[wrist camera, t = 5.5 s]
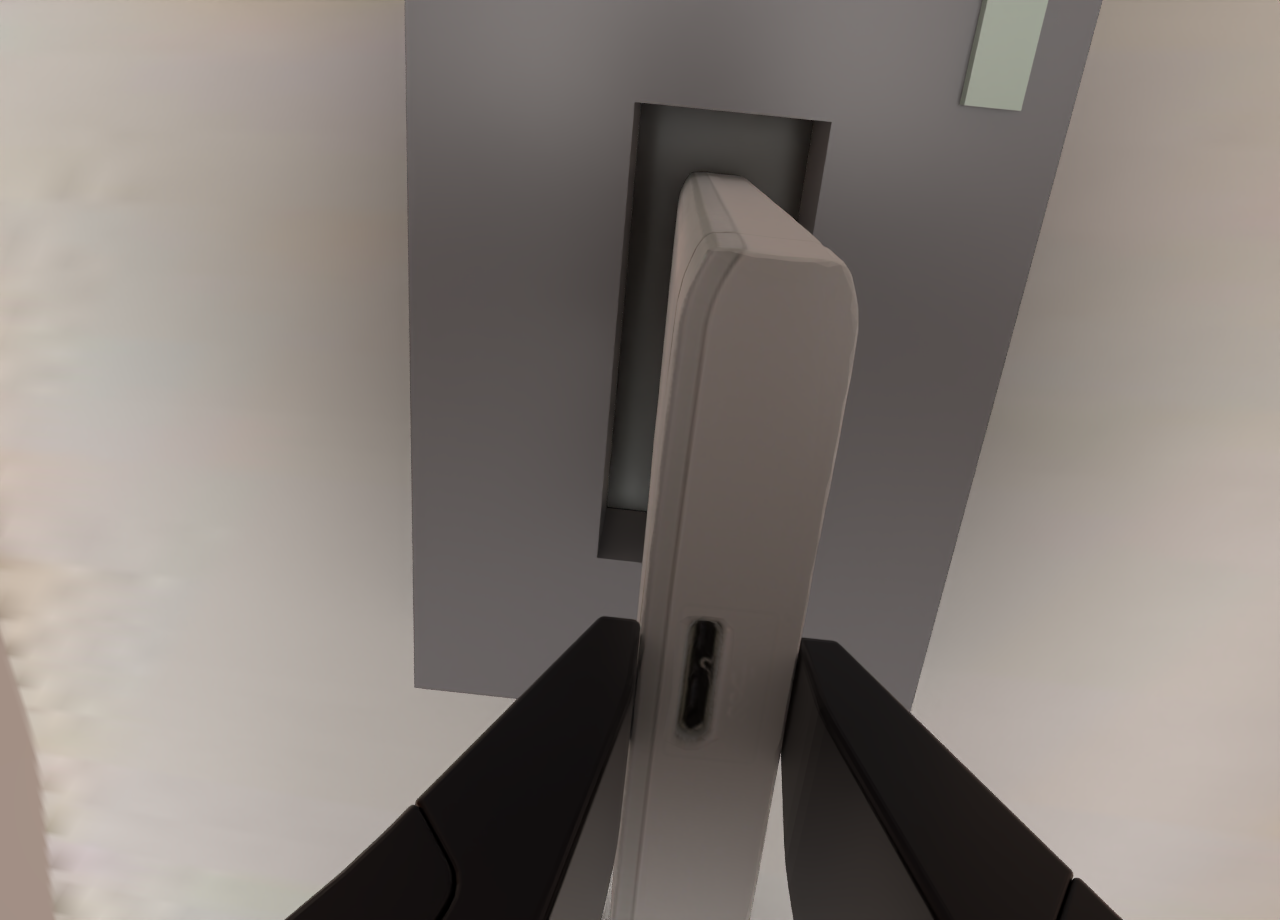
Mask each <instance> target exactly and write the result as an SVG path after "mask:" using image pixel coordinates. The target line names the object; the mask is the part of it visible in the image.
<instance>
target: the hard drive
mask: <svg viewBox="0 0 1280 920" xmlns="http://www.w3.org/2000/svg"><path fill="white" fill-rule="evenodd" d="M857 336H858V303H857V297H856V292H855V287H854V282H853V278H852V274H851V272H850V271H849V269H848V268H847V266H846V264H845V263H844V261H842V260H841V259H840V258H839V257H838V256H837V255H835V254H834V253H833V252H832V251H831V250H830V249H829V248H827V247H824V246H823V245H822V244H821V242H820V241H819V240H817V239H816V238H815V237H814V236H813V235H812V234H811V233H810V232H809V231H807V230H806V229H805V228H804V227H803V226H801V225H800V224H799V223H798V222H797V221H796V220H794V219H793V218H792V217H791V216H790V215H789V214H788V213H786V212H785V211H784V210H783V209H782V208H780V207H779V206H778V205H777V204H775V203H774V202H773V201H772V200H771V199H770V198H768V196H766V195H765V194H764V193H762V192H761V191H760V190H759V189H758V188H756V187H755V186H754V185H753V184H752V183H751V182H750V181H748V180H747V179H746V178H744V177H741V176H736V175H726V174H716V173H710V172H694V173H691V174H690V175H689V176H688V177H687V179H686V181H685V183H684V185H683V187H682V189H681V192H680V196H679V200H678V208H677V217H676V226H675V235H674V245H673V254H672V264H671V274H670V284H669V293H668V303H667V314H666V324H665V334H664V344H663V355H662V365H661V375H660V383H659V394H658V405H657V414H656V425H655V434H654V444H653V456H652V466H651V477H650V488H649V498H648V509H647V520H646V531H645V541H644V551H643V561H642V572H641V582H640V593H639V604H638V614H637V621H638V622H639V624H640V638H639V650H638V661H637V673H636V684H635V693H634V702H633V711H632V720H631V730H630V739H629V748H628V757H627V766H626V775H625V784H624V793H623V803H622V812H621V821H620V829H619V836H618V844H617V849H616V855H615V860H614V869H613V883H612V898H611V910H610V920H750V916H751V910H752V905H753V900H754V895H755V889H756V884H757V879H758V873H759V868H760V862H761V857H762V852H763V846H764V841H765V835H766V829H767V823H768V817H769V812H770V807H771V801H772V796H773V790H774V785H775V779H776V774H777V769H778V764H779V759H780V753H781V748H782V742H783V735H784V729H785V723H786V718H787V712H788V707H789V702H790V696H791V691H792V685H793V680H794V675H795V669H796V664H797V658H798V653H799V648H800V642H801V637H802V632H803V626H804V621H805V616H806V611H807V605H808V599H809V593H810V587H811V581H812V575H813V569H814V564H815V558H816V552H817V548H818V544H819V540H820V536H821V530H822V525H823V519H824V514H825V508H826V503H827V499H828V495H829V491H830V486H831V480H832V475H833V469H834V464H835V459H836V454H837V449H838V444H839V438H840V433H841V427H842V421H843V416H844V410H845V405H846V399H847V394H848V390H849V385H850V380H851V374H852V368H853V362H854V355H855V349H856V342H857Z"/></svg>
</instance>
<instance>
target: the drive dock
mask: <svg viewBox="0 0 1280 920" xmlns="http://www.w3.org/2000/svg"><path fill="white" fill-rule="evenodd" d="M1101 4H1102V0H405V55H406V124H407V194H408V264H409V334H410V404H411V474H412V544H413V614H414V684H415V688H422V689H431V690H441V691H450V692H459V693H468V694H477V695H487V696H496V697H505V698H514V699H518V698H519V697H520V696H521V695H522V694H523V693H524V692H525V691H526V690H527V689H528V688H529V687H530V686H531V685H532V684H533V683H534V682H535V681H536V680H537V679H538V678H539V677H540V676H541V675H542V674H543V673H544V672H545V671H546V670H547V669H548V668H549V667H550V666H551V665H552V664H553V663H554V662H555V661H556V660H557V659H558V658H559V657H560V656H561V655H562V654H563V653H564V652H565V651H566V650H567V649H568V648H569V647H570V646H571V645H572V644H573V643H574V642H575V641H576V640H577V639H578V638H579V637H580V636H581V635H582V634H583V633H584V632H585V631H586V630H587V629H588V628H589V627H590V626H591V625H592V624H593V623H594V622H595V621H596V620H597V619H598V618H600V617H602V616H609V617H618V618H627V619H634V620H637V614H638V604H639V593H640V582H641V572H642V561H643V551H644V541H645V531H646V520H647V512H641V511H632V510H622V509H613V508H607V497H608V485H609V474H610V462H611V450H612V439H613V427H614V415H615V404H616V392H617V380H618V369H619V357H620V345H621V334H622V322H623V310H624V299H625V287H626V275H627V264H628V252H629V240H630V229H631V217H632V205H633V194H634V182H635V170H636V159H637V147H638V135H639V124H640V112H641V103H649V104H659V105H669V106H679V107H689V108H699V109H709V110H719V111H728V112H738V113H748V114H758V115H768V116H778V117H788V118H798V119H808V120H814V122H813V128H812V134H811V141H810V147H809V153H808V159H807V166H806V172H805V178H804V184H803V191H802V197H801V203H800V209H799V216H798V223H799V224H800V225H801V226H803V227H804V228H805V229H806V230H807V231H809V232H810V233H811V234H812V235H813V236H814V237H815V238H816V239H817V240H819V241H820V242H821V244H822V245H823V246H824V247H827V248H829V249H830V250H831V251H832V252H833V253H834V254H835V255H837V256H838V257H839V258H840V259H841V260H842V261H844V263H845V264H846V266H847V268H848V269H849V271H850V272H851V274H852V278H853V282H854V287H855V292H856V297H857V303H858V336H857V342H856V349H855V355H854V362H853V368H852V374H851V380H850V385H849V390H848V394H847V399H846V405H845V410H844V416H843V421H842V427H841V433H840V438H839V444H838V449H837V454H836V459H835V464H834V469H833V475H832V480H831V486H830V491H829V495H828V499H827V503H826V508H825V514H824V519H823V525H822V530H821V536H820V540H819V544H818V548H817V552H816V558H815V564H814V569H813V575H812V581H811V587H810V593H809V599H808V605H807V611H806V616H805V621H804V626H803V632H802V637H805V638H814V639H824V640H833V641H836V642H838V643H839V644H840V645H842V646H843V647H844V648H845V649H846V650H847V651H848V652H849V653H850V654H851V655H852V656H853V657H854V658H855V659H856V660H857V661H858V662H859V663H860V664H861V665H862V666H863V667H864V668H865V669H866V670H867V671H868V672H869V673H870V674H871V675H872V676H873V677H874V678H875V679H876V680H877V681H878V682H879V683H880V684H881V685H882V686H883V687H885V688H886V689H887V690H888V691H889V692H890V693H891V694H892V695H893V696H894V697H895V698H896V699H897V700H898V701H899V702H900V703H901V704H902V705H903V706H904V707H905V708H906V709H907V710H908V711H909V712H910V711H911V707H912V703H913V700H914V696H915V692H916V689H917V685H918V681H919V678H920V674H921V670H922V666H923V663H924V659H925V655H926V652H927V648H928V644H929V641H930V637H931V633H932V629H933V626H934V622H935V618H936V615H937V611H938V607H939V604H940V600H941V596H942V592H943V589H944V585H945V581H946V578H947V574H948V570H949V566H950V563H951V559H952V555H953V552H954V548H955V544H956V541H957V537H958V533H959V529H960V526H961V522H962V518H963V515H964V511H965V507H966V504H967V500H968V496H969V492H970V489H971V485H972V481H973V478H974V474H975V470H976V467H977V463H978V459H979V455H980V452H981V448H982V444H983V441H984V437H985V433H986V430H987V426H988V422H989V418H990V415H991V411H992V407H993V404H994V400H995V396H996V393H997V389H998V385H999V381H1000V378H1001V374H1002V370H1003V367H1004V363H1005V359H1006V356H1007V352H1008V348H1009V344H1010V341H1011V337H1012V333H1013V330H1014V326H1015V322H1016V319H1017V315H1018V311H1019V307H1020V304H1021V300H1022V296H1023V293H1024V289H1025V285H1026V282H1027V278H1028V274H1029V270H1030V267H1031V263H1032V259H1033V256H1034V252H1035V248H1036V244H1037V241H1038V237H1039V233H1040V230H1041V226H1042V222H1043V219H1044V215H1045V211H1046V207H1047V204H1048V200H1049V196H1050V193H1051V189H1052V185H1053V182H1054V178H1055V174H1056V170H1057V167H1058V163H1059V159H1060V156H1061V152H1062V148H1063V145H1064V141H1065V137H1066V133H1067V130H1068V126H1069V122H1070V119H1071V115H1072V111H1073V108H1074V104H1075V100H1076V96H1077V93H1078V89H1079V85H1080V82H1081V78H1082V74H1083V71H1084V67H1085V63H1086V59H1087V56H1088V52H1089V48H1090V45H1091V41H1092V37H1093V34H1094V30H1095V26H1096V22H1097V19H1098V15H1099V11H1100V8H1101ZM802 637H801V638H802Z"/></svg>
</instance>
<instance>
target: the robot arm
mask: <svg viewBox="0 0 1280 920" xmlns="http://www.w3.org/2000/svg"><path fill="white" fill-rule="evenodd" d="M639 638H640V624H639V622H638V621H637V620H634V619H627V618H618V617H609V616H602V617H600V618H598V619H597V620H596V621H595V622H594V623H593V624H592V625H591V626H590V627H589V628H588V629H587V630H586V631H585V632H584V633H583V634H582V635H581V636H580V637H579V638H578V639H577V640H576V641H575V642H574V643H573V644H572V645H571V646H570V647H569V648H568V649H567V650H566V651H565V652H564V653H563V654H562V655H561V656H560V657H559V658H558V659H557V660H556V661H555V662H554V663H553V664H552V665H551V666H550V667H549V668H548V669H547V670H546V671H545V672H544V673H543V674H542V675H541V676H540V677H539V678H538V679H537V680H536V681H535V682H534V683H533V684H532V685H531V686H530V687H529V688H528V689H527V690H526V691H525V692H524V693H523V694H522V695H521V696H520V697H519V698H518V699H517V700H516V701H515V702H514V703H513V704H512V705H511V706H510V707H509V708H508V709H507V710H506V711H505V712H504V713H503V714H502V715H501V716H500V717H499V718H498V719H497V720H496V721H495V722H494V723H493V724H492V725H491V726H490V727H489V728H488V729H487V730H486V731H485V732H484V733H483V734H482V735H481V736H480V737H479V738H478V739H477V740H476V741H475V742H474V743H473V744H472V745H471V746H470V747H469V748H468V749H467V750H466V751H465V752H464V753H463V754H462V755H461V756H460V757H459V758H458V759H457V760H456V761H455V762H454V763H453V764H452V765H451V766H450V767H449V768H448V769H447V770H446V771H445V772H444V773H443V774H442V775H441V776H440V777H439V778H438V779H437V780H436V781H435V782H434V783H433V784H432V785H431V786H430V787H429V788H428V789H427V790H426V791H425V792H424V793H423V794H422V795H421V796H420V797H419V798H418V799H417V800H416V803H415V805H411V806H409V807H408V808H407V809H406V810H405V811H404V812H403V813H402V814H401V815H400V817H399V818H398V819H397V820H396V821H395V822H394V823H393V824H392V825H391V826H390V827H389V828H388V829H387V830H386V831H385V832H384V833H382V834H381V835H380V836H379V837H378V838H377V839H376V840H375V841H374V842H373V843H372V844H371V845H370V846H369V847H368V848H367V849H365V850H364V851H363V852H362V853H361V854H360V855H359V856H358V857H357V858H356V859H355V860H354V861H353V862H352V863H351V864H350V865H348V866H347V867H346V868H345V869H344V870H343V871H342V872H341V873H340V874H339V875H337V876H336V877H335V878H334V879H333V880H331V881H330V882H329V883H328V884H327V885H325V886H324V887H323V888H322V889H321V890H320V891H318V892H317V893H316V894H315V895H314V896H312V897H311V898H310V899H309V900H308V901H306V902H305V903H304V904H303V905H302V906H300V907H299V908H298V909H297V910H296V911H294V912H293V913H292V914H291V915H290V916H289V917H287V918H286V919H285V920H601V918H602V913H603V909H604V905H605V900H606V896H607V891H608V887H609V883H610V878H611V874H612V870H613V865H614V860H615V855H616V849H617V844H618V836H619V829H620V821H621V812H622V803H623V793H624V784H625V775H626V766H627V757H628V748H629V739H630V730H631V720H632V711H633V702H634V693H635V684H636V673H637V661H638V650H639ZM781 769H782V797H783V825H784V847H785V863H786V872H787V880H788V888H789V894H790V901H791V907H792V913H793V919H794V920H1123V919H1122V918H1121V917H1119V916H1118V915H1117V914H1116V913H1115V912H1114V911H1113V910H1112V909H1111V908H1110V907H1109V906H1108V905H1107V904H1106V903H1105V902H1104V901H1103V900H1102V899H1101V898H1100V897H1099V896H1098V895H1097V894H1096V893H1095V892H1094V891H1093V890H1092V889H1091V888H1090V887H1089V886H1088V885H1087V884H1085V883H1084V882H1083V881H1082V880H1081V879H1080V878H1074V879H1073V880H1072V878H1073V872H1072V870H1071V869H1070V868H1069V867H1068V866H1067V865H1066V864H1065V863H1064V862H1063V861H1062V860H1061V859H1059V858H1058V857H1057V856H1056V855H1055V854H1054V853H1053V852H1052V851H1051V850H1050V849H1049V848H1048V847H1047V846H1046V845H1045V844H1044V843H1043V842H1042V841H1041V840H1040V839H1039V838H1038V837H1037V836H1036V835H1035V834H1034V833H1033V832H1032V831H1031V830H1030V829H1029V828H1028V827H1027V826H1026V825H1025V824H1024V823H1023V822H1022V821H1021V820H1020V819H1019V818H1018V817H1017V816H1015V815H1014V814H1013V813H1012V812H1011V811H1010V810H1009V809H1008V808H1007V807H1006V806H1005V805H1004V804H1003V803H1002V802H1001V801H1000V800H999V799H998V798H997V797H996V796H995V795H994V794H993V793H992V792H991V791H990V790H989V789H988V788H987V787H986V786H985V785H984V784H983V783H982V782H981V781H980V780H979V779H978V778H977V777H976V776H975V775H974V774H973V773H971V772H970V771H969V770H968V769H967V768H966V767H965V766H964V765H963V764H962V763H961V762H960V761H959V760H958V759H957V758H956V757H955V756H954V755H953V754H952V753H951V752H950V751H949V750H948V749H947V748H946V747H945V746H944V745H943V744H942V743H941V742H940V741H939V740H938V739H937V738H936V737H935V736H934V735H933V734H932V733H931V732H930V731H929V730H927V729H926V728H925V727H924V726H923V725H922V724H921V723H920V722H919V721H918V720H917V719H916V718H915V717H914V716H913V715H912V714H911V713H910V712H909V711H908V710H907V709H906V708H905V707H904V706H903V705H902V704H901V703H900V702H899V701H898V700H897V699H896V698H895V697H894V696H893V695H892V694H891V693H890V692H889V691H888V690H887V689H886V688H885V687H883V686H882V685H881V684H880V683H879V682H878V681H877V680H876V679H875V678H874V677H873V676H872V675H871V674H870V673H869V672H868V671H867V670H866V669H865V668H864V667H863V666H862V665H861V664H860V663H859V662H858V661H857V660H856V659H855V658H854V657H853V656H852V655H851V654H850V653H849V652H848V651H847V650H846V649H845V648H844V647H843V646H842V645H840V644H839V643H838V642H836V641H833V640H824V639H814V638H805V637H802V638H801V642H800V648H799V653H798V658H797V664H796V669H795V675H794V680H793V685H792V691H791V696H790V702H789V707H788V712H787V718H786V723H785V729H784V735H783V742H782V748H781Z"/></svg>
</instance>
